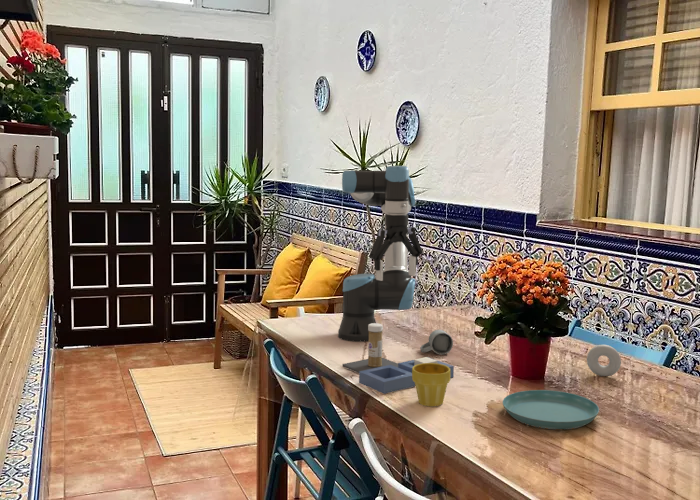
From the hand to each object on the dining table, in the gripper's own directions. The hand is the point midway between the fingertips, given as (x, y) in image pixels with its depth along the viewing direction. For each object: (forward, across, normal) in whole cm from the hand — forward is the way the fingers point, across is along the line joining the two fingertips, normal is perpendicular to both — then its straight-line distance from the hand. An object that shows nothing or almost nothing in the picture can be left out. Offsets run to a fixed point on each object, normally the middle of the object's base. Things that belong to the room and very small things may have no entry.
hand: (396, 277), depth 234 cm
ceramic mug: (+28, +16, -3) cm, 32 cm away
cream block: (+27, -5, -22) cm, 35 cm away
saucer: (+26, +1, -65) cm, 70 cm away
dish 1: (+26, -20, -22) cm, 39 cm away
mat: (+27, -13, -7) cm, 30 cm away
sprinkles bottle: (+26, -13, -7) cm, 30 cm away
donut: (+27, +40, -52) cm, 71 cm away
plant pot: (+26, -19, -41) cm, 52 cm away
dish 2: (+26, -5, -22) cm, 34 cm away
